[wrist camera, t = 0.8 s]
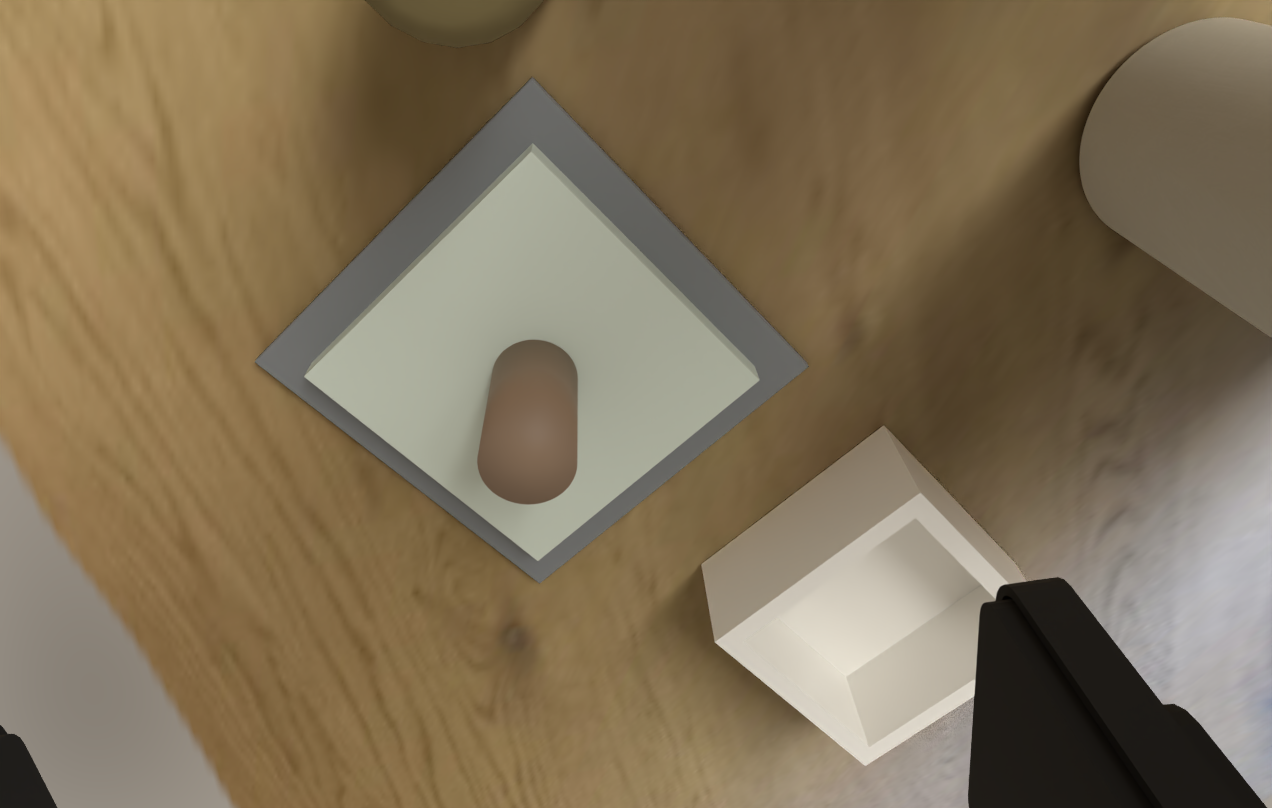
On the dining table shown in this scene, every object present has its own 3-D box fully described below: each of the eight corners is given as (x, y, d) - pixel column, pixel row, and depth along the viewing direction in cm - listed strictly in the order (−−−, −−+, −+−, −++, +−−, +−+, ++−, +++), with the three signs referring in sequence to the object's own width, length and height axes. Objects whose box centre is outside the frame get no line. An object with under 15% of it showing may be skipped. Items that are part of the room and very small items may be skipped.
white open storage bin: (883, 424, 41) (920, 492, 36) (1015, 563, 45) (1062, 639, 40) (701, 564, 44) (714, 642, 39) (838, 682, 47) (865, 765, 43)
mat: (532, 76, 34) (531, 78, 33) (806, 362, 39) (808, 366, 39) (257, 357, 38) (254, 361, 38) (540, 577, 44) (539, 583, 43)
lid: (532, 142, 34) (521, 205, 28) (754, 366, 39) (788, 463, 32) (311, 362, 38) (257, 462, 31) (538, 543, 42) (531, 663, 36)
